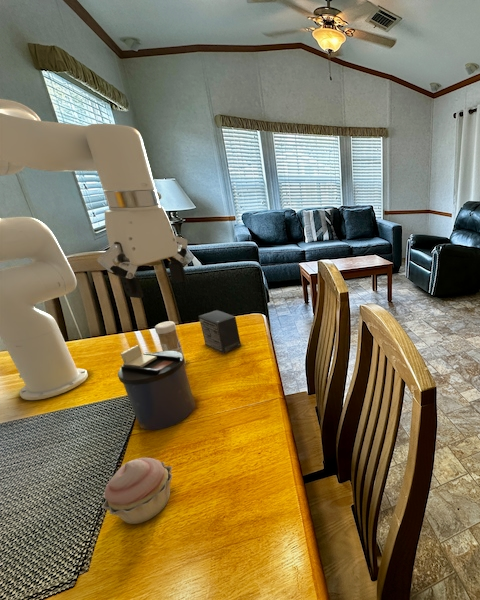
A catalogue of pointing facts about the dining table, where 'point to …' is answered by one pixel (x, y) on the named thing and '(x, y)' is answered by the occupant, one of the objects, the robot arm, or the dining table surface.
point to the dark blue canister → (159, 390)
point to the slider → (136, 357)
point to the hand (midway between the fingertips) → (159, 288)
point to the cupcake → (138, 490)
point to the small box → (220, 331)
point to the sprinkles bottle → (169, 337)
